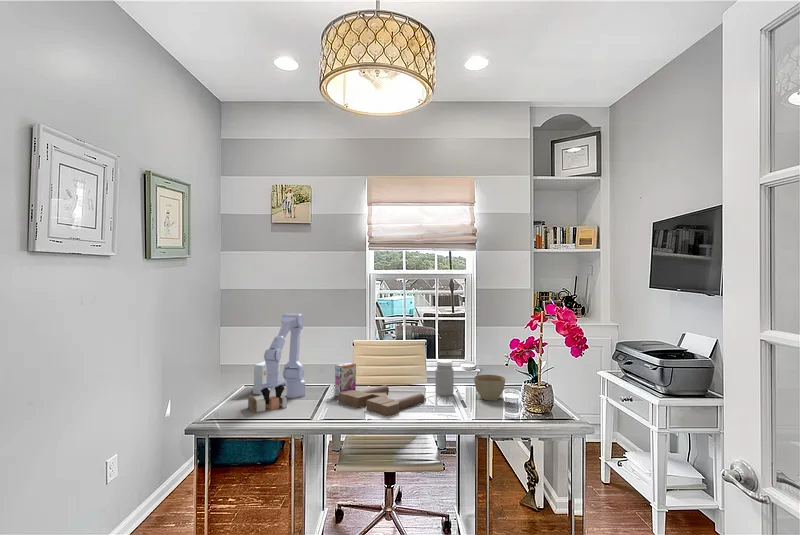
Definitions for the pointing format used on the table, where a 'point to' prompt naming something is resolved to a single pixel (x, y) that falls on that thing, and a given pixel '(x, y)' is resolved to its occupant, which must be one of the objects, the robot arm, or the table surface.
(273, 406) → the salmon orange block
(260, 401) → the cream book
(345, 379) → the candy bar box
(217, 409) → the table surface
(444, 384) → the jar
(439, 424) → the table surface
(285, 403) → the grey rectangular block
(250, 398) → the wooden shelf
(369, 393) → the bookends
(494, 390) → the planter bowl
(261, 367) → the skincare box
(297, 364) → the robot arm
